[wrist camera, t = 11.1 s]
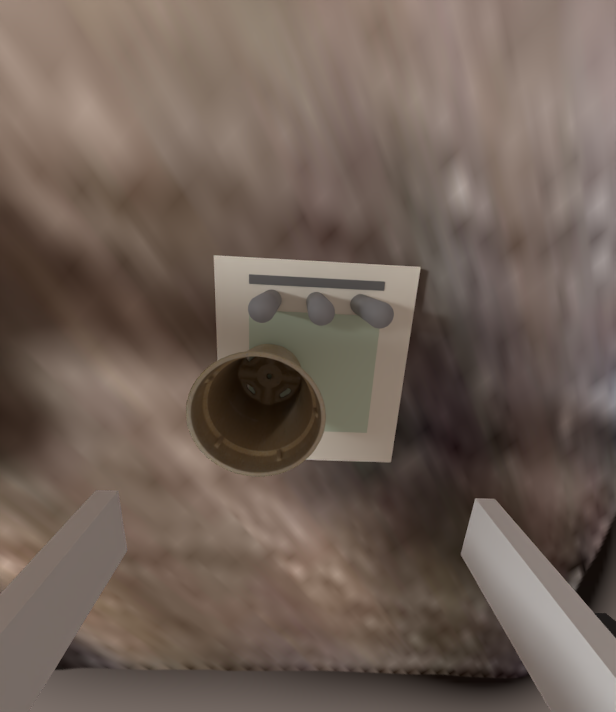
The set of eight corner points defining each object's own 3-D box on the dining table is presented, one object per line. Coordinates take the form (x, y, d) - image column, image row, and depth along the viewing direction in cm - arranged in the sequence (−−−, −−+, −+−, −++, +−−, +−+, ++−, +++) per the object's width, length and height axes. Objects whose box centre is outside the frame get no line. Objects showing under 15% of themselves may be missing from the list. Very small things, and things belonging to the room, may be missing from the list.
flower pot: (290, 433, 30) (286, 496, 21) (204, 394, 28) (164, 445, 20) (336, 355, 28) (351, 392, 19) (245, 308, 26) (219, 325, 18)
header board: (223, 450, 32) (198, 509, 24) (217, 256, 26) (181, 249, 18) (387, 455, 32) (415, 514, 24) (415, 267, 27) (463, 265, 19)
